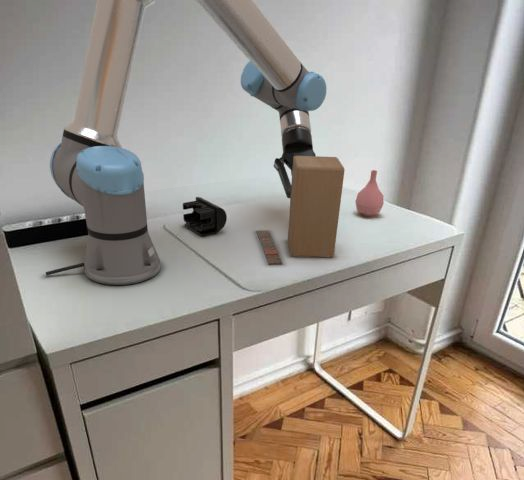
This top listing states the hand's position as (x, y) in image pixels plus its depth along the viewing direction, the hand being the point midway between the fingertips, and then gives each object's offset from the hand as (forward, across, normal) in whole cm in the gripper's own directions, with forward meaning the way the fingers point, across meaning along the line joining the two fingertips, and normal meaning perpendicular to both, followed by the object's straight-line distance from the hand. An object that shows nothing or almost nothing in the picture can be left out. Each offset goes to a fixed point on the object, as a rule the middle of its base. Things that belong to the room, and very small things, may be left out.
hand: (305, 223), depth 121 cm
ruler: (+6, +10, 0) cm, 11 cm away
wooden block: (+8, 0, +2) cm, 8 cm away
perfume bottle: (-9, -22, -15) cm, 29 cm away
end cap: (-3, +24, -9) cm, 26 cm away
